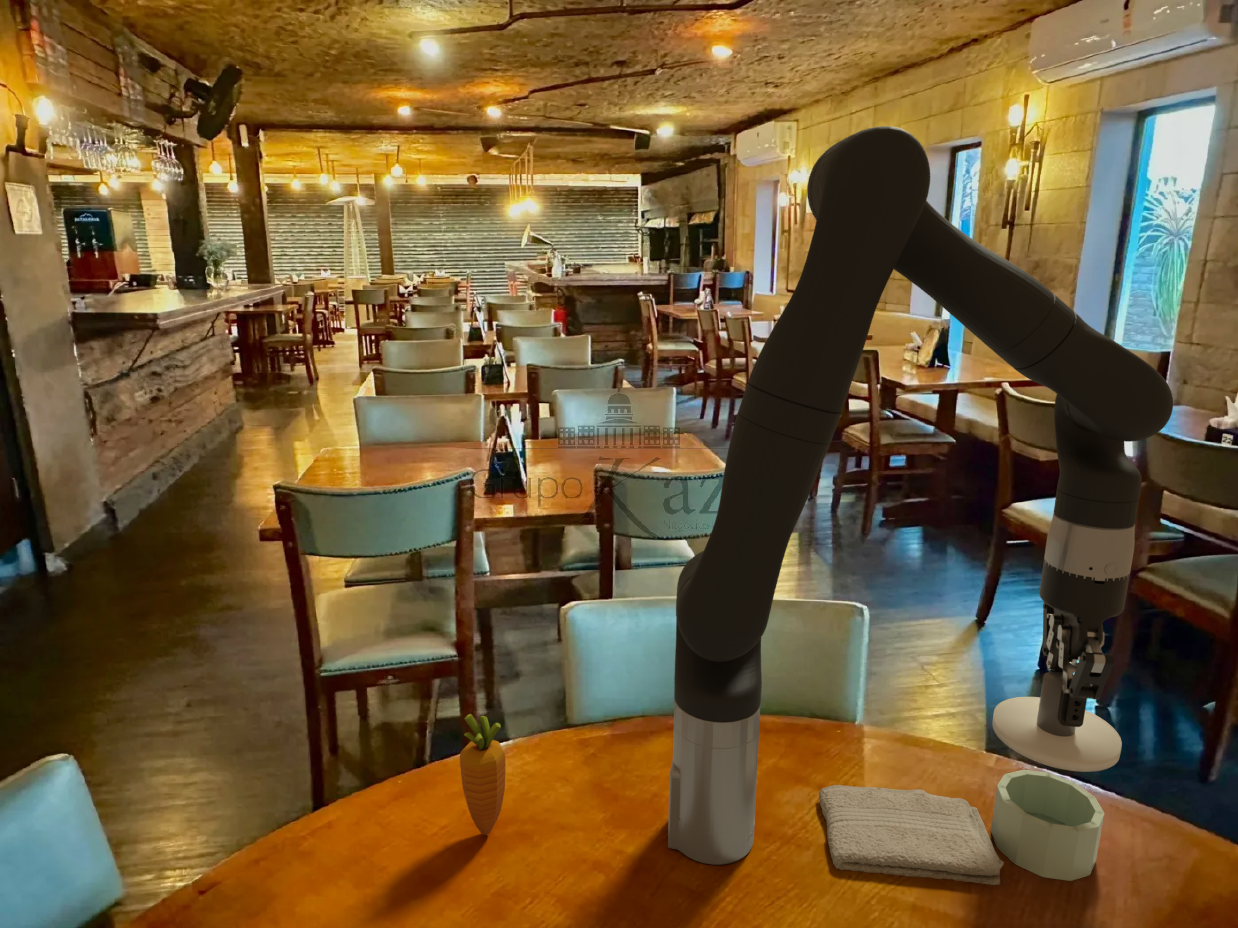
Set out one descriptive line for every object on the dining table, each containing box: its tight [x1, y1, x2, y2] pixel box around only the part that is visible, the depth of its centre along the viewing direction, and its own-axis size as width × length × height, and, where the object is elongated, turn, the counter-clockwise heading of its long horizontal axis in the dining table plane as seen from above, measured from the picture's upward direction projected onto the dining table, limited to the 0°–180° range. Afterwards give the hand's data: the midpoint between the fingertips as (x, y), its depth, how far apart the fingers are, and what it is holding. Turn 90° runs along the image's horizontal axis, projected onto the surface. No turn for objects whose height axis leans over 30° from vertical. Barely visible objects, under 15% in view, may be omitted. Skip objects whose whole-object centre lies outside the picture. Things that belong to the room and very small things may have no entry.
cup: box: [990, 769, 1105, 882], centre depth 87 cm, size 10×10×6 cm
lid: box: [992, 671, 1123, 773], centre depth 84 cm, size 12×12×7 cm
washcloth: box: [818, 784, 1005, 886], centre depth 89 cm, size 12×18×3 cm, turn 83°
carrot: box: [459, 713, 506, 836], centre depth 88 cm, size 5×5×15 cm
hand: (1063, 712), depth 84 cm, fingers closed on lid, 3 cm apart
